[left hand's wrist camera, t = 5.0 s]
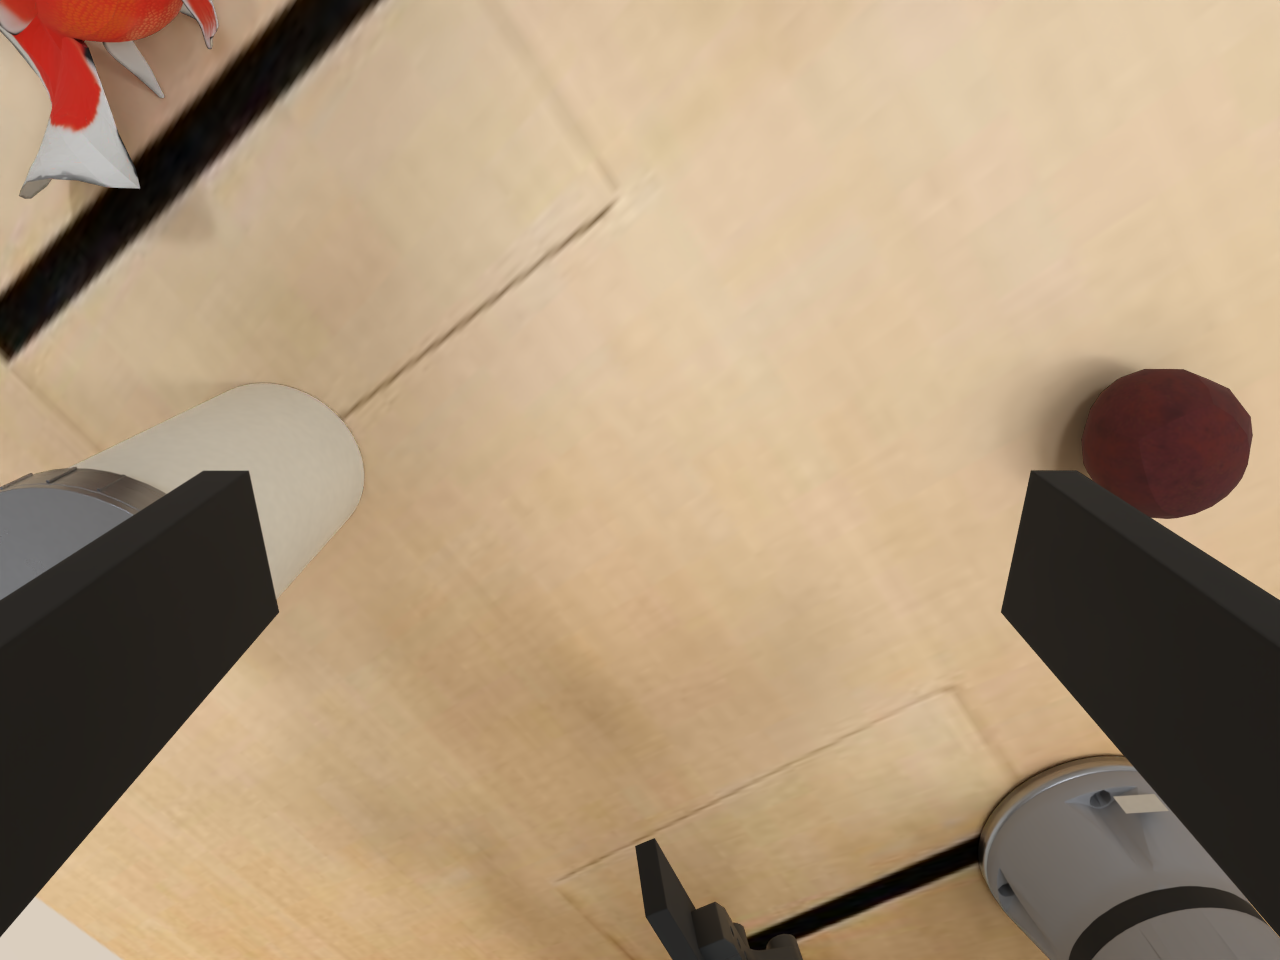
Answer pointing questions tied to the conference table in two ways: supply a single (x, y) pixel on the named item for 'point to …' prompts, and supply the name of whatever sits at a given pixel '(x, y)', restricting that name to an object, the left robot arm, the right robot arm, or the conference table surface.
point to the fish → (88, 78)
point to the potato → (1167, 442)
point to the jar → (258, 464)
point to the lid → (61, 517)
